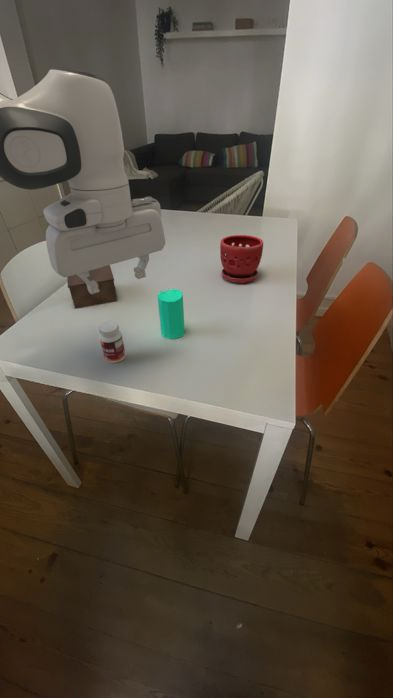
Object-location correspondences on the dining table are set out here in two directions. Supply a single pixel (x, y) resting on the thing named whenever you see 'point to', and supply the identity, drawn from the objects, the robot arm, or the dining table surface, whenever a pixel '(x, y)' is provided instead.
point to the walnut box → (105, 287)
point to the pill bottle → (112, 342)
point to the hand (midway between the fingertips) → (118, 284)
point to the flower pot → (240, 257)
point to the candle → (171, 313)
